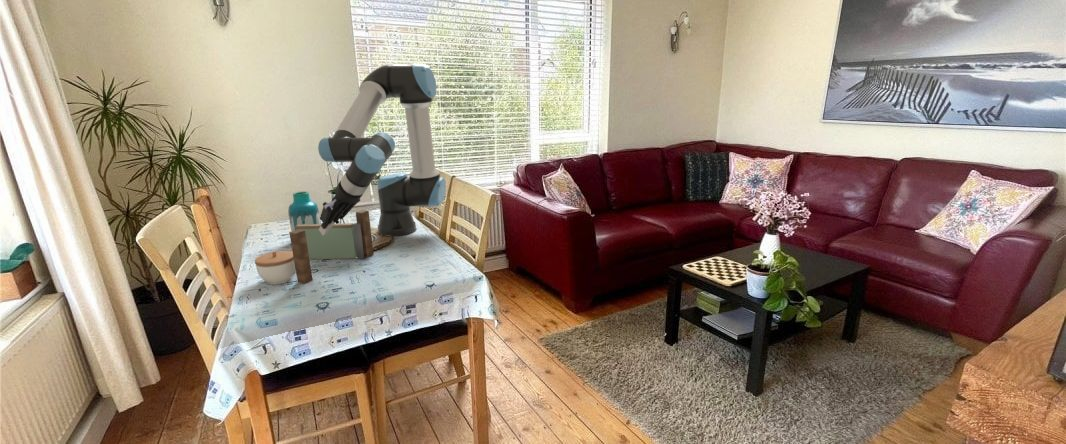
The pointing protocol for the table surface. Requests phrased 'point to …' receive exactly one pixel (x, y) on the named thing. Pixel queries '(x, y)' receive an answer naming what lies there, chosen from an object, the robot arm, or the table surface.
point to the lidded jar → (276, 266)
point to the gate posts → (302, 249)
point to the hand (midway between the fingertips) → (322, 232)
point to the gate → (334, 241)
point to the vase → (303, 210)
